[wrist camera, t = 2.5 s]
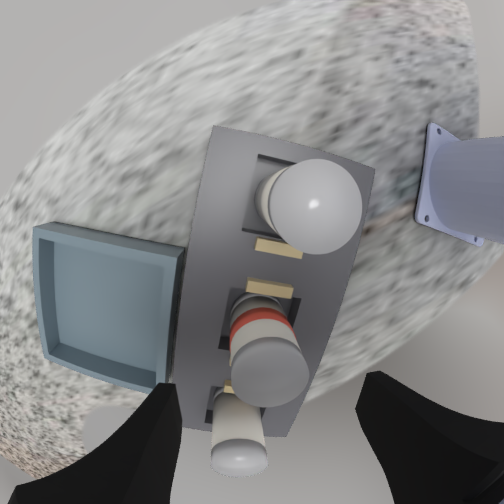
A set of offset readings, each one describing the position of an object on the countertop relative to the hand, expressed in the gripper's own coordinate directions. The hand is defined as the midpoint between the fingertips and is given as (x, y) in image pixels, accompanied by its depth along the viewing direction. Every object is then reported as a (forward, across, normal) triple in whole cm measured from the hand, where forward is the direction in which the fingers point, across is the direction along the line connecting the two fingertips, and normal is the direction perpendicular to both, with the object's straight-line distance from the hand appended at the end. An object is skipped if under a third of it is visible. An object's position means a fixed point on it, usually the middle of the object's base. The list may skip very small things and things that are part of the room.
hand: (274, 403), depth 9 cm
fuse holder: (+9, 0, 0) cm, 9 cm away
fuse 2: (+8, -1, -7) cm, 10 cm away
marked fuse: (+8, 0, 0) cm, 8 cm away
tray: (+9, +10, 0) cm, 13 cm away
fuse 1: (+8, +1, +7) cm, 10 cm away
